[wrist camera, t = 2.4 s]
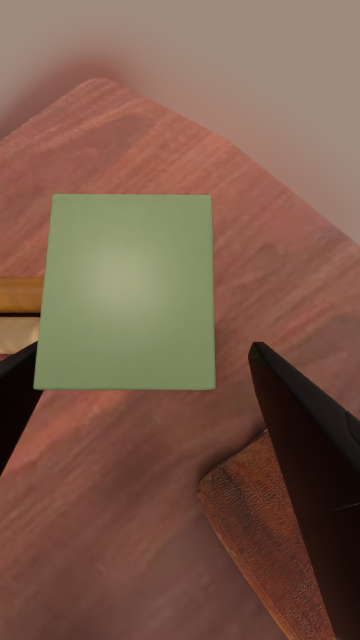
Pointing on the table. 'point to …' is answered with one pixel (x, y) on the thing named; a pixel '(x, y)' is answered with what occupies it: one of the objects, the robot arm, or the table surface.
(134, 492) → the table surface
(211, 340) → the bar
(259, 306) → the table surface
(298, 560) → the wooden tablet
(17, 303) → the rods
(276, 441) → the robot arm
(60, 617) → the table surface
